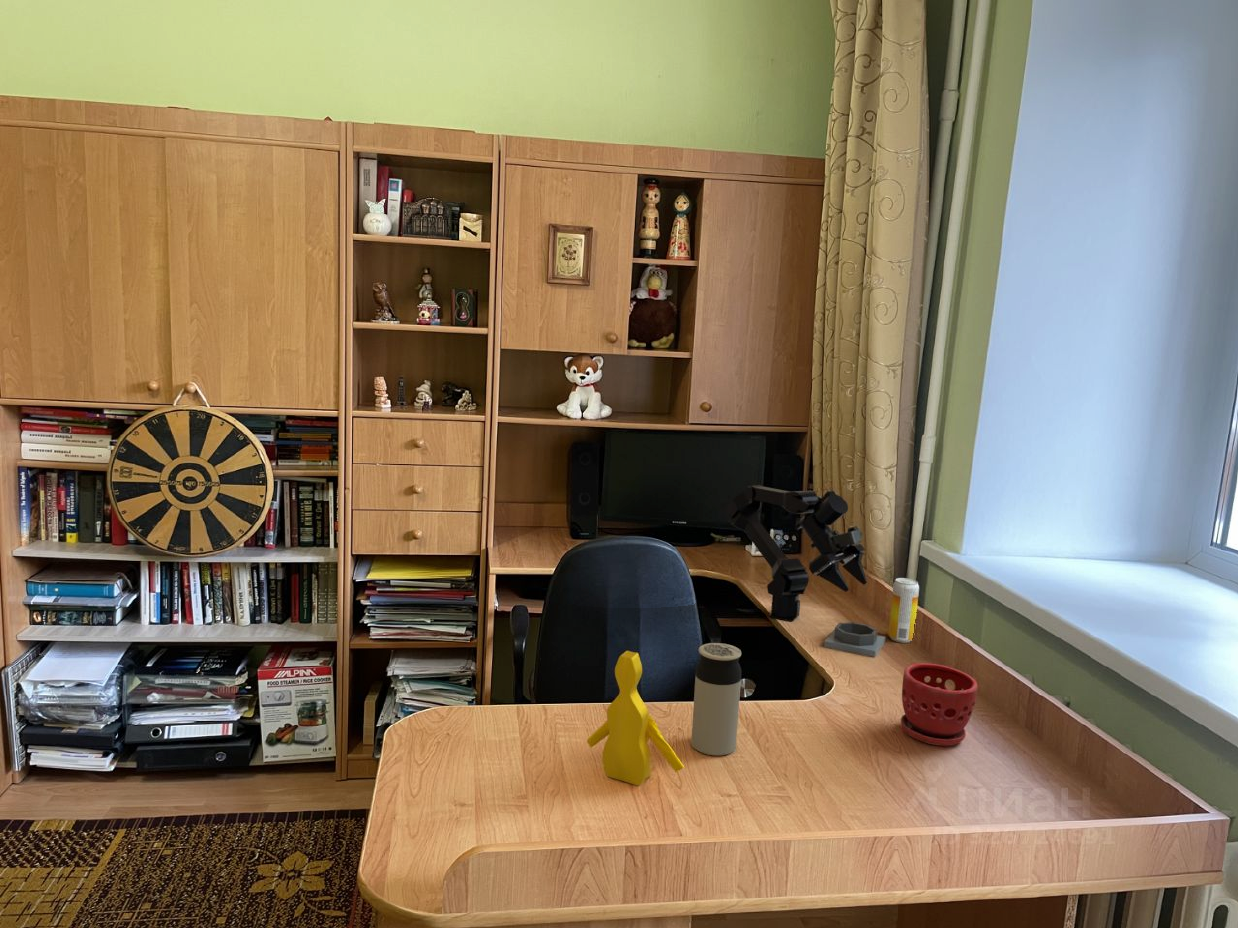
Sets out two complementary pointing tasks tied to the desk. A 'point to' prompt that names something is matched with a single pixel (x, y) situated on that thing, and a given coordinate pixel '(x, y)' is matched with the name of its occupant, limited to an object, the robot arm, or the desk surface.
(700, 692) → the travel mug
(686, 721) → the desk surface
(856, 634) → the collar dock
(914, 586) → the beer can
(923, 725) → the plant pot
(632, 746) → the figure statuette
